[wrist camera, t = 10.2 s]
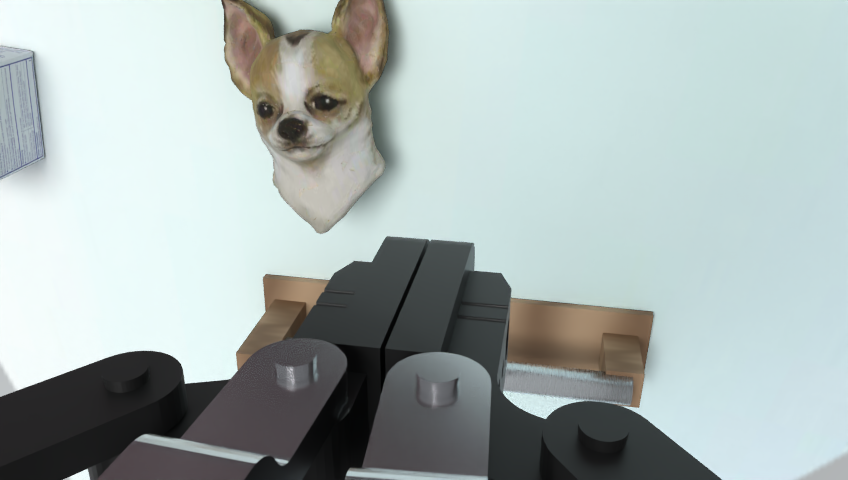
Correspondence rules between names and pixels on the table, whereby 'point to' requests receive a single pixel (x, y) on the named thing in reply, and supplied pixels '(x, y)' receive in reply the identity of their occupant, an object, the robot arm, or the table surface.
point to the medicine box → (18, 112)
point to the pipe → (567, 383)
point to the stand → (528, 330)
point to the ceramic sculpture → (313, 102)
